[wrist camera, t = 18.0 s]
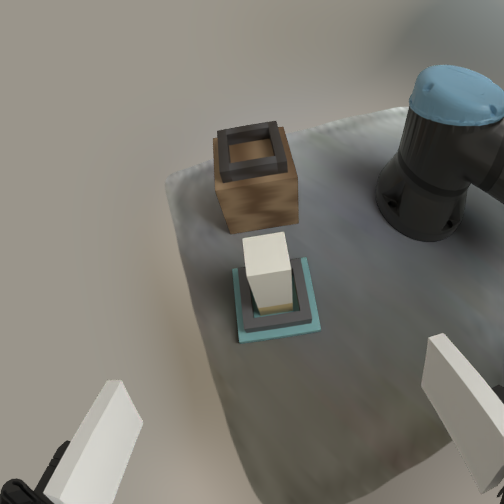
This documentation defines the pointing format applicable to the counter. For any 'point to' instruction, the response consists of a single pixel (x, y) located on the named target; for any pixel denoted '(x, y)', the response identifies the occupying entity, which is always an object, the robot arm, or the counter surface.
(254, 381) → the counter surface
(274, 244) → the plug
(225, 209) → the wooden planter box
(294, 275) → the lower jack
